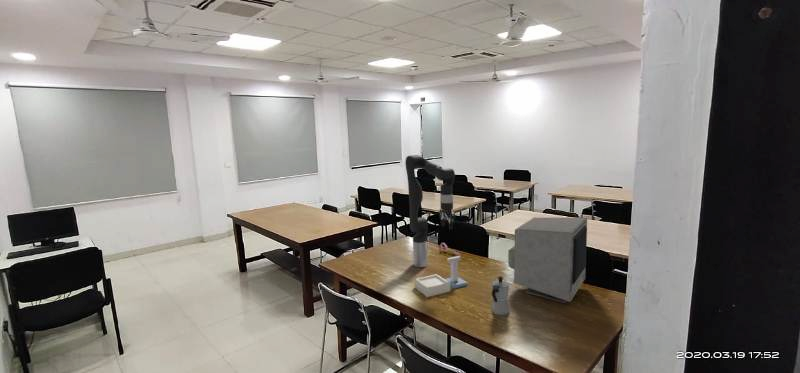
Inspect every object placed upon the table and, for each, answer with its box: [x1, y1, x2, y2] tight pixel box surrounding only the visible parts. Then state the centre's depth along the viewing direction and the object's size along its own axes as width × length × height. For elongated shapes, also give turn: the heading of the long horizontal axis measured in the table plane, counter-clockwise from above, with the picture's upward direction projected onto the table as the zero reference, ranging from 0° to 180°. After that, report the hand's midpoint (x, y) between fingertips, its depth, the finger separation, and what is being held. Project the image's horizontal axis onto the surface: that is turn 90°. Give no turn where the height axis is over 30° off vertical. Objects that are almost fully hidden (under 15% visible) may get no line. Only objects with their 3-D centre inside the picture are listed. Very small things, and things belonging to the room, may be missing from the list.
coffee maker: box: [491, 275, 511, 316], centre depth 183 cm, size 15×9×18 cm, turn 141°
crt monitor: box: [507, 217, 588, 304], centre depth 203 cm, size 35×37×40 cm
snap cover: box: [444, 255, 468, 290], centre depth 219 cm, size 11×11×16 cm
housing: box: [414, 274, 451, 298], centre depth 213 cm, size 15×15×5 cm
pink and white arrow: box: [440, 242, 462, 257], centre depth 274 cm, size 7×1×20 cm
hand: (447, 227), depth 225 cm, fingers open, 8 cm apart
